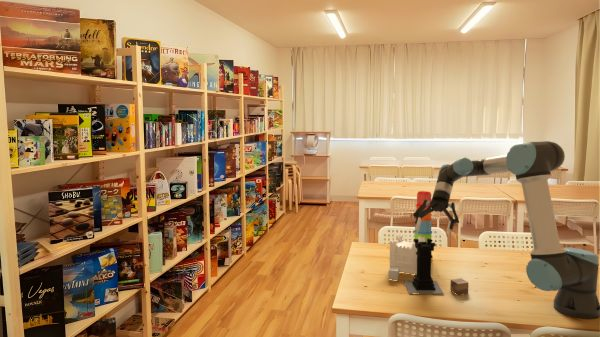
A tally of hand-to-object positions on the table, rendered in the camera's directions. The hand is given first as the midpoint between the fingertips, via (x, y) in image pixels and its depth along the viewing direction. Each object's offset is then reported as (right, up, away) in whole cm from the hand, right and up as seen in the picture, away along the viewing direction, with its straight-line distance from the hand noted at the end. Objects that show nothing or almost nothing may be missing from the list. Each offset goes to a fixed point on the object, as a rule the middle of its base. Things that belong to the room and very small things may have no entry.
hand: (431, 233), depth 195 cm
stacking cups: (+5, -18, +31) cm, 36 cm away
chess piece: (-5, -22, -6) cm, 24 cm away
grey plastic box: (-16, -22, +5) cm, 27 cm away
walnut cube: (+8, -23, -11) cm, 27 cm away
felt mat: (-5, -23, -6) cm, 24 cm away
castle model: (-7, -20, +17) cm, 27 cm away
